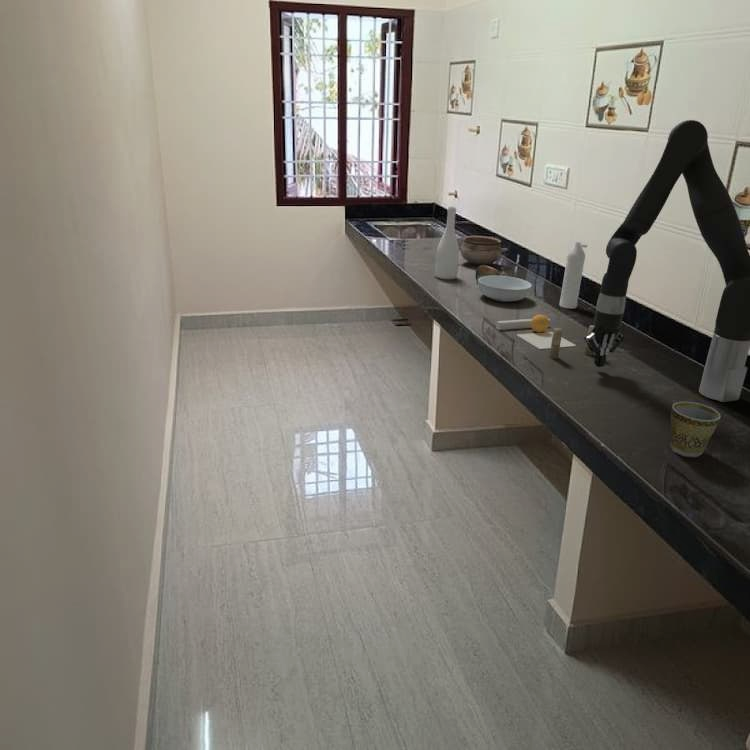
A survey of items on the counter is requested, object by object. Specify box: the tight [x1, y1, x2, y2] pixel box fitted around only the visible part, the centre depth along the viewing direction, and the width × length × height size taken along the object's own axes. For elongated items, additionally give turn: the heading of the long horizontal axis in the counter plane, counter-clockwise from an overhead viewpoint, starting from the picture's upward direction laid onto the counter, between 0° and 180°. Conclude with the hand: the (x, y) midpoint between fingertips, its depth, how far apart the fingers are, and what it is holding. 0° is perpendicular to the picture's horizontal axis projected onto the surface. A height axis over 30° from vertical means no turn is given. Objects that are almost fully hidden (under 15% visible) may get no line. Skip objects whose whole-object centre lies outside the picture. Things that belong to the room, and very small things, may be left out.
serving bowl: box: [477, 275, 533, 303], centre depth 264 cm, size 21×21×7 cm
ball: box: [531, 314, 550, 333], centre depth 227 cm, size 6×6×6 cm
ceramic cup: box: [669, 401, 721, 458], centre depth 152 cm, size 13×10×10 cm
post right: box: [584, 324, 595, 356], centre depth 209 cm, size 3×3×9 cm
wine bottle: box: [434, 206, 460, 281], centre depth 287 cm, size 10×10×30 cm
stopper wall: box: [495, 317, 551, 331], centre depth 232 cm, size 2×20×2 cm, turn 111°
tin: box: [475, 265, 501, 284], centre depth 280 cm, size 15×3×8 cm, turn 25°
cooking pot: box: [458, 235, 509, 268], centre depth 316 cm, size 25×19×12 cm
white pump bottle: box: [559, 241, 588, 310], centre depth 254 cm, size 9×6×25 cm
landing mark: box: [516, 331, 577, 350], centre depth 220 cm, size 14×14×1 cm
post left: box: [548, 327, 563, 360], centre depth 204 cm, size 3×3×9 cm
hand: (599, 366), depth 196 cm, fingers closed
